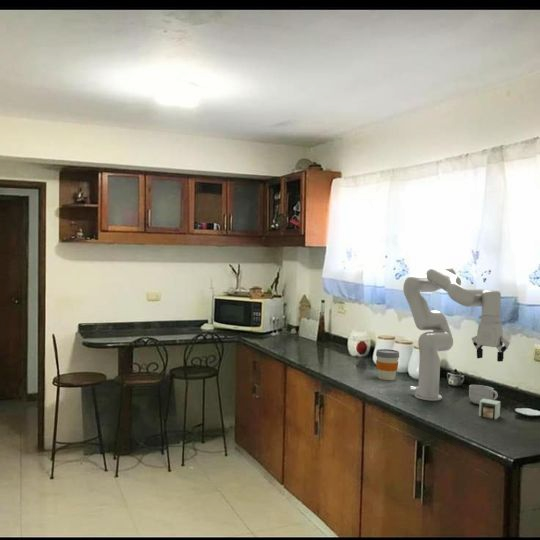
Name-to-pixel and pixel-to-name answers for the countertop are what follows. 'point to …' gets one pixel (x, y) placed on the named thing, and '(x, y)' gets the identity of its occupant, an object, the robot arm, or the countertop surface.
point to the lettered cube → (489, 412)
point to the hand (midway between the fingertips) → (489, 359)
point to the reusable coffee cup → (387, 363)
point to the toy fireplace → (492, 404)
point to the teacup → (481, 393)
